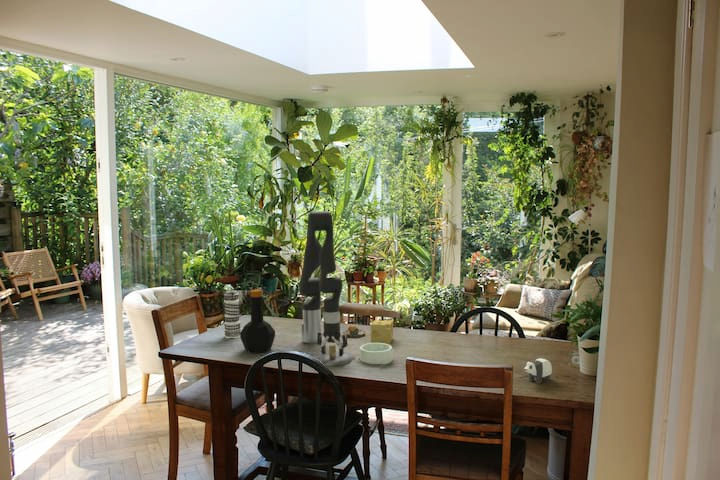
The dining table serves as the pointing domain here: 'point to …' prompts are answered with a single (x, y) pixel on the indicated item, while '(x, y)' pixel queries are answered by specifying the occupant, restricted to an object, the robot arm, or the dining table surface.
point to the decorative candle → (231, 314)
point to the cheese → (382, 331)
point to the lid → (333, 358)
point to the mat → (343, 365)
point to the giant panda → (538, 370)
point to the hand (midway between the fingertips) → (332, 355)
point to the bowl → (376, 353)
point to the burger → (354, 332)
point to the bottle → (257, 327)
